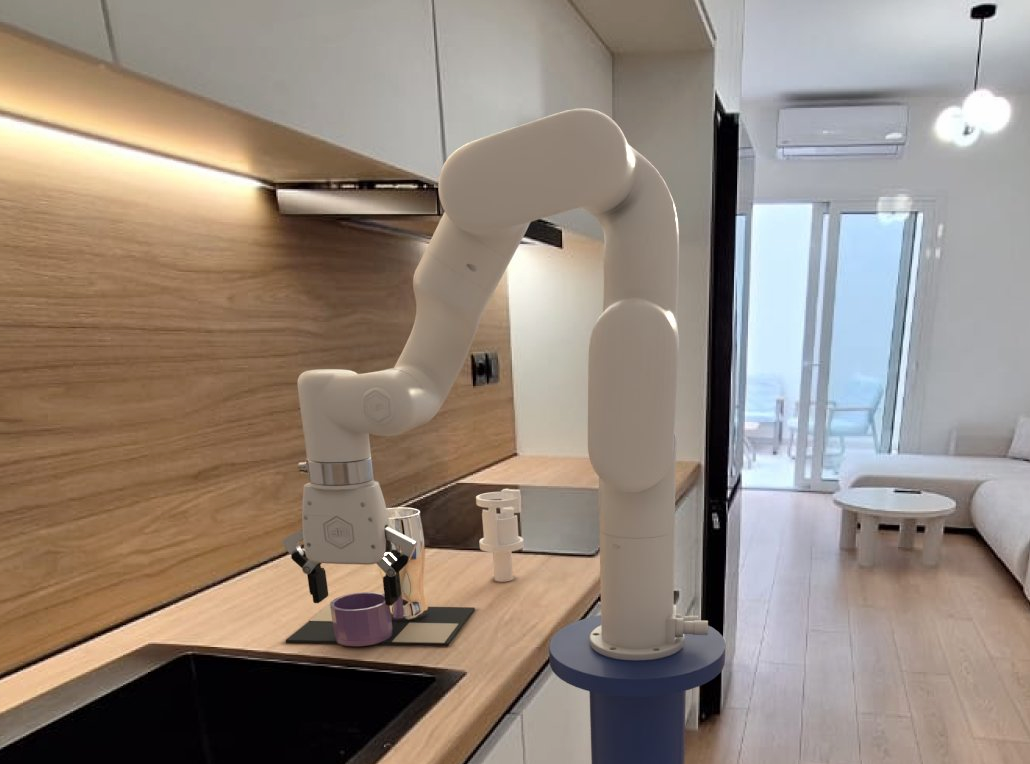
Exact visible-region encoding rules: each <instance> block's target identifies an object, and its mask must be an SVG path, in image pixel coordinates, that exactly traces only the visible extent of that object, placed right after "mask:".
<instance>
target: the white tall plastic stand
mask: <svg viewBox="0 0 1030 764" xmlns="http://www.w3.org/2000/svg"><path fill="white" fill-rule="evenodd" d="M475 504H476V506H478V507H480V508H488V509H482V510H481V511H482V513H481V518H482V529H483V530H482V531H483V537H482V538H480V539H479V541H478V542H479V549H480V550H481V551H483V552H487V553H492V563H493V575H494V576H493V577H494V581H495V582H499V583H505V582H510V581H513V580H514V568H513V554H512V552H516V551H519V550H522V549H523V548H524V546H525V545H524V538H523V537H522V536H520V535H519V524H518V515H517V514H520V513H521V512H522V496H521V489H515V488H514V489H510V488H503V489H502V490H500V491H492V492H485V493H481V494H478V495H476V496H475ZM497 509H499V511H500V513H497Z"/></svg>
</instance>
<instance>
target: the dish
mask: <svg viewBox="0 0 1030 764" xmlns="http://www.w3.org/2000/svg"><path fill="white" fill-rule="evenodd" d="M329 604H330V609H331V615H332V622H333V628H334V635H335V640H336V642H337V643H339V644H338V645H342V646H346V647H365V646H373V645H375V644H376V643H380V642H383V641H385V640H387V639H388V638H390V637H391V636H392V634H393V629H392V620H391V612H390V606H387V605H386V604H385V595H384V593H382V592H381V593H380V592H376V591H364V592H353V593H348V594H344V595H341V596H339V597H336V598H334V599H333V600H331V601H330V602H329Z"/></svg>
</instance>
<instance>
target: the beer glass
mask: <svg viewBox="0 0 1030 764" xmlns="http://www.w3.org/2000/svg"><path fill="white" fill-rule="evenodd" d="M386 509H387V514H388V518H389V524H390V528H392V529H394V530H395V531H397V532H399V533H401V534H403V535H405V536H407V537H409V538H411V539H413V540H415V541H416V542H417V546H416V548H415V550H414V553H413V555H412V557H411V560H410V561H409V562H408V563H407V564H406V565H405V566H404V567H403V568H402V570H400V571H399V575H400V585H401V596H400V597H399V598H398V600H397V601H396V602H395V603H394V604H393V605H392V606H390V612H391V620H392V621H413V620H417V619H420V618H423V617H425V616H426V615H427V614H428V613H429V610H428V607H429V606H428V603H427V600H426V597H425V596H426V595H425V590H424V578H425V577H424V576H425V563H426V542H425V541H426V540H425V539H426V538H425V533H424V526H423V521H422V515H421V510H420V509H417V508H413V507H390V508H389V507H388V508H386ZM401 552H402V548H401V547H400V546H398V545H396V544H394V543H392V551H391V554H392V555H393V556H394V557H395V558H396V559H398V558H399V557H400V555H401ZM377 568H378V571H379V575H380V578H381V581H382V582H383V577H384V576H386V573H385V572H384V571H383V570H382V569H381V568H380V567H379V566H378V565H377Z"/></svg>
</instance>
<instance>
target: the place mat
mask: <svg viewBox="0 0 1030 764" xmlns="http://www.w3.org/2000/svg"><path fill="white" fill-rule="evenodd" d="M428 610H429V613H428V614H427V615H426V616H425V617H423V618H420V619H417V620H413V621H392V629H393V634H392V636H391V637H390V638H388V639H387V640H385V641H383V642H380V643H376V644H374V645H375V646H377V645H378V646H379V645H383V646H387V645H388V646H424V647H425V646H427V647H428V646H429V647H431V646H432V647H448V646H450V644H451V643H452V641H453V640H454V639H455V637H456V636H457V635H458V633H459V632H460V631H461V629H462V628H463V627H464V625H465V624H466V622H467V621H468V620H469V619H470V617H471V616H472V614H473V613H474V612H475V611H476V608H475V607H474V606H473V607H472V606H471V607H469V606H428ZM287 643H288V644H331V645H333V644H335V645H340V644H339V643H337V642H336V640H335V635H334V628H333V622H332V615H331V609H330V603H329V604H328V605H326V606H325V607H324V608H322V609H321V610H320V611H319V612H318V613H316V614H315V615H314V616H312V618H310V619H309V620H308V622H306V623H305V624H304V625H302V626H301V627H300V628H298V629H297V630H296V631H295V632H294V633H292V634H291V635H290V636H289V637H288V638H286V639H285V644H287Z"/></svg>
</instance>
